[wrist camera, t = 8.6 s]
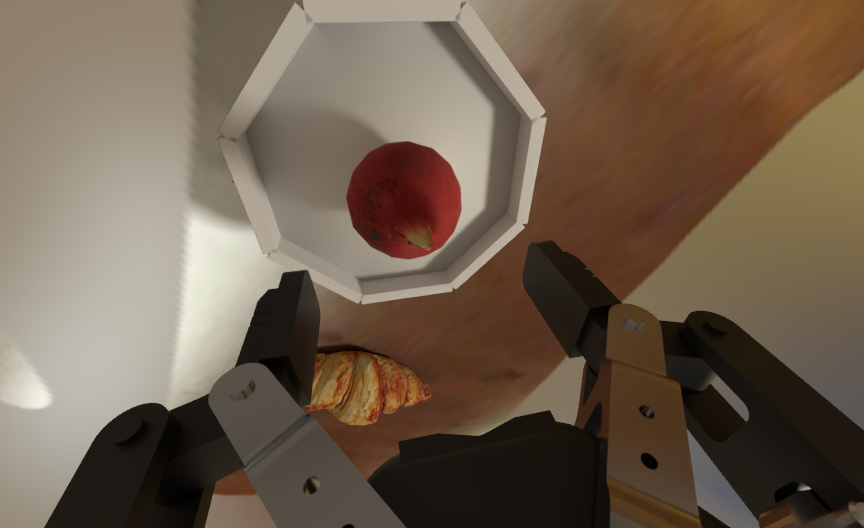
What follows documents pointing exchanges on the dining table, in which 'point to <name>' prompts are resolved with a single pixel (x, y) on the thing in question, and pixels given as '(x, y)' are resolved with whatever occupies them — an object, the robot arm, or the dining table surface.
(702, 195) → the dining table surface
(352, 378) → the croissant
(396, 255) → the onion
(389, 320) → the dining table surface
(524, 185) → the scale
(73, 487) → the robot arm
